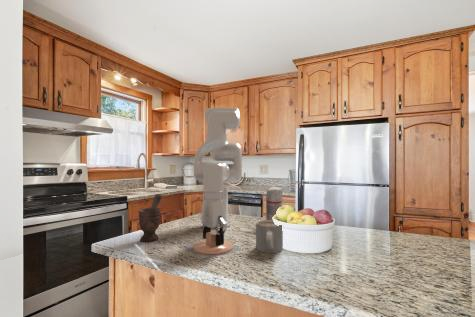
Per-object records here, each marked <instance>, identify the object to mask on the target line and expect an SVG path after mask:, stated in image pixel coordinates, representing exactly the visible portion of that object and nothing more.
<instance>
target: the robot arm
mask: <svg viewBox="0 0 475 317" xmlns="http://www.w3.org/2000/svg"><path fill="white" fill-rule="evenodd" d="M204 119H205V122H206V127H207V128H206V129H207V130H206V140H205V141H204V142H202V144H201V145H200V146H199V147H198V148H197V150H196V152H195V154H194V162H193V177H194V179H195V180H197V181H199V182H200V181H201V182H202V181H203V184H202V187H203V188H202V189H203V192H202V193H203V195H202V203H201V204H202V205H201V219H200V220H201V225H202V238H203V239H202V240H206V233H207V232H212V229H213V230H214V229H215V230H214V231H216V233H217V234H216V246H219V245H223V244H224V240H225V234H226V230H227V228H228V227H231V225H232V223H231V222H230V221H229V219H228V217H229V216H228V214H229V212H228V211H229V192H228V188H227V187H226V186H225V185H224V184H225V183H239V182H241V180H242V177H243V153H242V151H243V150H242V146H241V145H240V143H237V142H228V132H227V130H238V129H239V128H240V126H241V112H240V109H239V108H238V107H219V106H217V107H208V108H206V109H205V111H204ZM209 153H210V157H211V160H213V161H215V162H213V161H212V162H211V161H210V162H209V161H206V162H204V161H203V158H204V157H205V156H206V155H208V154H209ZM202 161H203V162H202ZM225 162H232V163H225Z"/></svg>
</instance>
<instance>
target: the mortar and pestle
mask: <svg viewBox="0 0 475 317" xmlns="http://www.w3.org/2000/svg"><path fill="white" fill-rule="evenodd" d="M162 198H163V196H162V194H160V193H156V194H155V195H154V198H153V201H152V204H151V207H144V208H140V209H139V210H138V224H139V227H140V228H139V229H140V230H141V231H142V232H143V234H142V236H141V237H140V240H139V242H140V243H147V244H148V243H154V242H156V241H157V242H158V241H159V238H160V237H159V236H158V234H157V233H156V231H157V230H158V229H159V226H160V223H161V213H162V212H161V210H162V208H159V207H158V206H159V204H160V203H161V201H162Z"/></svg>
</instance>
